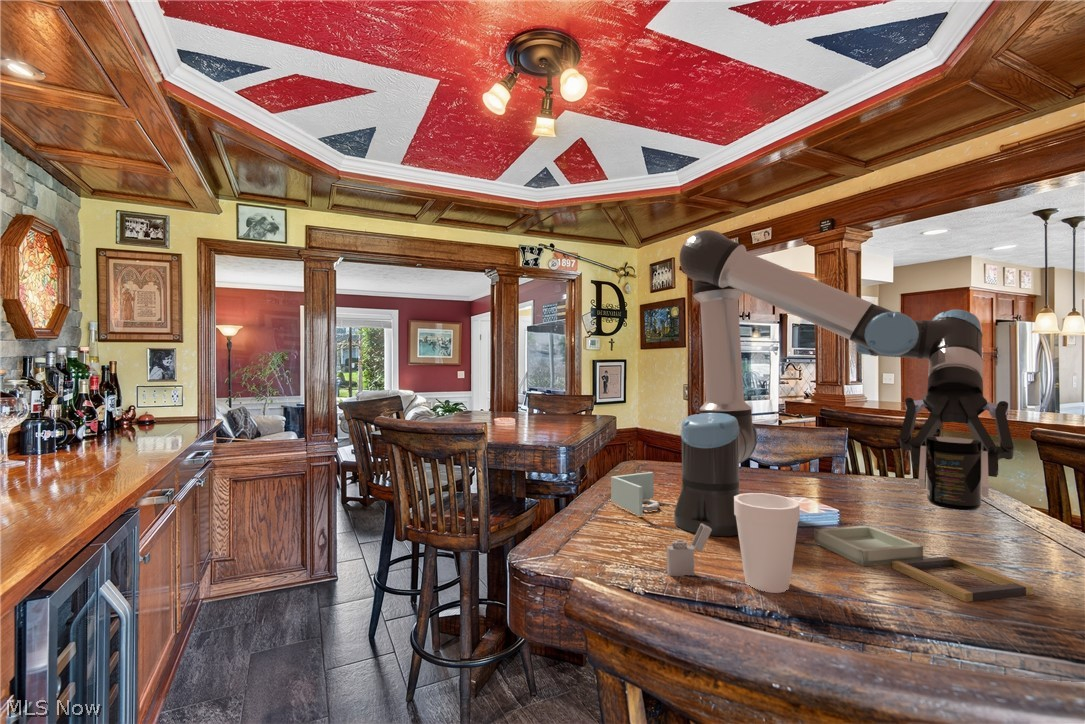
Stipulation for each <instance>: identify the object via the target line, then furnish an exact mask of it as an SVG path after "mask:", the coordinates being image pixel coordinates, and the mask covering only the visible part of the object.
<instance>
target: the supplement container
mask: <svg viewBox="0 0 1085 724" xmlns="http://www.w3.org/2000/svg"><path fill="white" fill-rule="evenodd" d="M926 448H927V472H926V498H927V501H928V502H929V503H930V504H931V505H933V506H936V507H939V508H943V509H947V510H954V511H955V510H956V511H962V512H963V511H964V512H965V511H966V512H968V511H969V512H970V511H977V510H979V509H980V508H981V506H982V485H981V452H982V449H981V442H980V441H977V440H976V439H973V438H972V439H971V438H962V437H951V436H948V437H947V436H933V437H927V438H926Z"/></svg>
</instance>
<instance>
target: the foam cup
mask: <svg viewBox="0 0 1085 724" xmlns="http://www.w3.org/2000/svg"><path fill="white" fill-rule="evenodd" d="M800 509H801V508H800V503H799V502H798V501H797V500H796V499H793V498H791V497H789V496H788V497H786V496H783V495H779V494H772V493H764V492H763V493H761V492H746V493H740V494H739V495H736V496H734V515H736V521H737V528H738V535H737V536H738V540H739V547H740V556H741V561H742V568H743V575H744V576H743V577H744V579H745V581H744V582H745V583H746V582H747V583H746V584H747V586H749V585H750V586H751V587H750V586H749V587H750V588H752V587H753V588H752V589H754V588H755V590H757V589H758V590H757V591H760V590H761V592H764V591H765V593H771V594H772V593H775V594H776V593H777V594H780V593H785V591H786V590H787V591H788V590H790V584H791V577H792V572H793V563H794V554H795V548H796V540H797V532H798V524H799V522H800V520H801V519H800V517H801V515H800V514H801V513H800V512H801V511H800ZM787 591H786V592H787Z"/></svg>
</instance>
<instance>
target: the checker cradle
mask: <svg viewBox="0 0 1085 724" xmlns="http://www.w3.org/2000/svg"><path fill="white" fill-rule="evenodd" d="M891 565H892V567H891V568H892V569H893V570H894V571H897V572H899V573H901V574H903V575H906V576H909V578H912V579H914V580H916V581H919V582H921V583H923V584H925V583H926V584H925V585H927V584H928V585H927V586H929V585H930V587H932V586H933V587H932V588H934V587H935V588H934V589H936V588H937V589H936V590H938V589H939V590H938V591H940V590H941V592H942V591H943V593H945V594H947V595H948V596H949V595H950V596H951V597H954V598H956V599H958V600H960V601H962V602H964V603H969V602H970V601H971V602H977V600H980V601H988V599H989V600H997V598H998V599H1004V598H1015V597H1023V596H1031V595H1034V587H1033V585H1030V584H1027V583H1025V582H1022V581H1019V580H1017V579H1014V578H1011V577H1010V576H1007V575H1004V574H1001V573H999V572H997V571H993V570H990V569H988V568H986V567H983V566H980V565H979V564H978V565H977V564H975V563H973V562H969V561H966V560H964V559H961V558H959V557H956V556H953V555H947V556H937V557H927V558H926V557H923V559H913V560H902V561H892V564H891ZM949 567H954V568H957V569H959V570H961V571H964V572H967V573H969V574H972V575H975V576H976V577H979V578H982V579H984V580H987V581H990V582H992V583H995V584H997V585H990V586H981V587H980V586H979V587H972V588H971V587H970V588H962V587H960V586H958V585H956V584H953V583H952V582H951V583H950V582H948V581H946V580H944V579H942V578H939V577H937V576H934V575H933V574H930V573H927V572H925V571H923V570H929V569H940V568H941V569H942V568H949Z"/></svg>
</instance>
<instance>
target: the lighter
mask: <svg viewBox="0 0 1085 724" xmlns="http://www.w3.org/2000/svg"><path fill="white" fill-rule="evenodd" d="M711 531H712V529H711V528H710V527H709V526H706V525H704V524H702V523H701V524H700V526H699V528H698V531H697V533H695V535H694V537H693V540H692V542H691V544H690V545H689V544H687V543H688V542H687V541H686V540H673V542H672V543H671V545H666V573H667V574H668V577H669V576H670V577H676V576H677V577H682V576H683V577H684V575H692V576H695V551H697V552H700V553H702V552H703V550H704V549H705V546H706V544H707V541H708V539H709V537H710V536H711V535H710V533H711Z"/></svg>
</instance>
